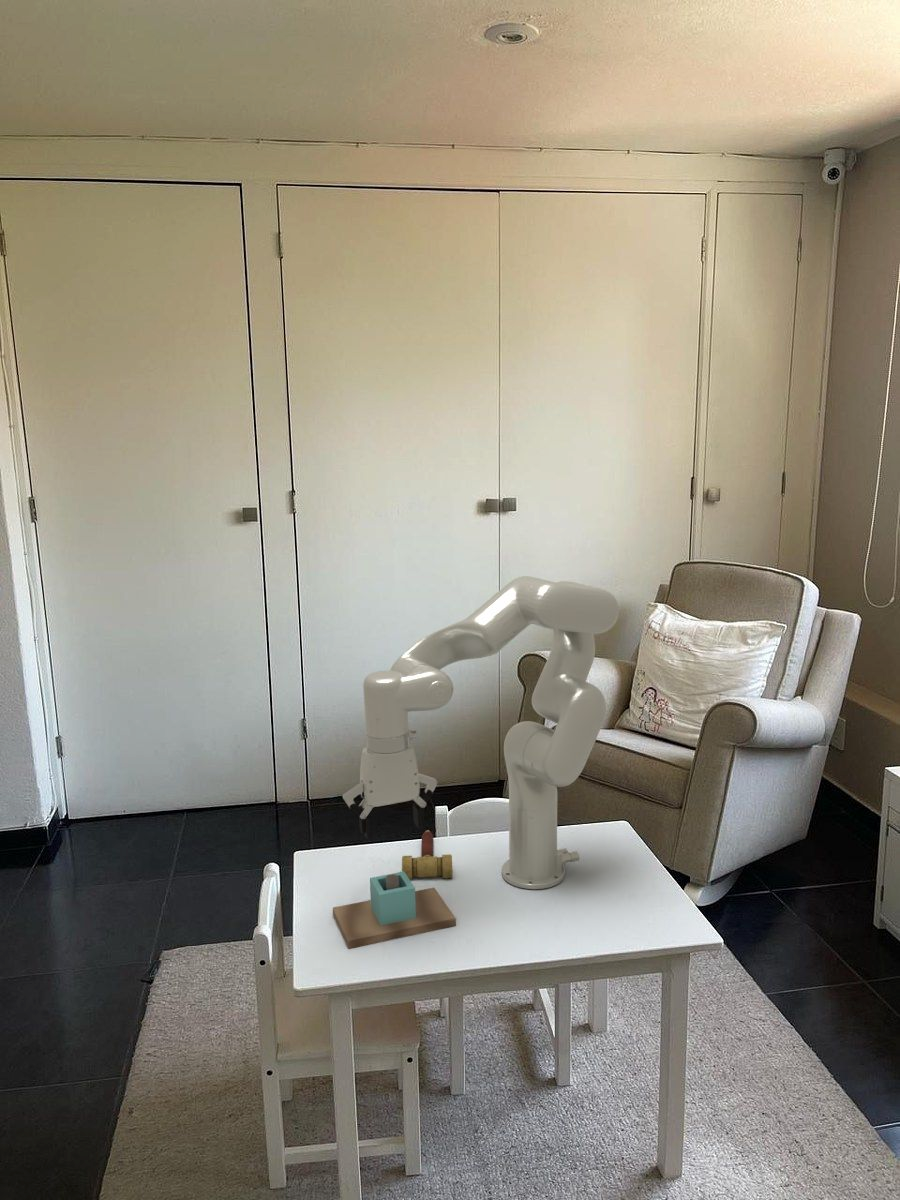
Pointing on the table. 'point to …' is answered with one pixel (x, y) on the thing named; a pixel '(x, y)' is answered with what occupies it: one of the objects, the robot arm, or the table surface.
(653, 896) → the table surface
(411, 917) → the collar
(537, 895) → the table surface
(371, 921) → the post stand
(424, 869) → the gavel
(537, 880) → the robot arm
